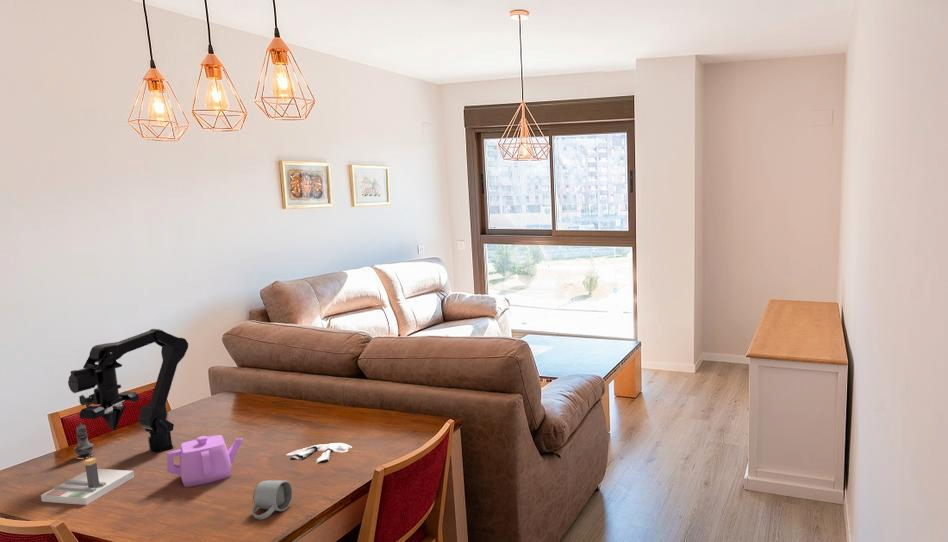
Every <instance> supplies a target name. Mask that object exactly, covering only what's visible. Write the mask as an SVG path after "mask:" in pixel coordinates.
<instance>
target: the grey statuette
mask: <svg viewBox="0 0 948 542" xmlns="http://www.w3.org/2000/svg"><path fill="white" fill-rule="evenodd" d="M75 431H76V436H75V438H77V445H76V446H75V447H74V448H73V451H74V452H75V453H76V454H77V456H76V457H77V458H86V457H89V456H91V455H92V454H94V453H93V452H92V451H93V448H94V443H92V442H89V439H88V438H89V437H88V436H89V434H88V433H87V426H86V424H82V423H81V422H80V423H79V425H77V426H76V428H75Z"/></svg>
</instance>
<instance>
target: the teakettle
mask: <svg viewBox="0 0 948 542" xmlns="http://www.w3.org/2000/svg"><path fill="white" fill-rule="evenodd" d="M242 442H243V438H242V437H239V438H238V437H236V438H235V440H234V441H233V442H232V445H231V446H230V447H229V449H228V448H227V445H226V442H225V439H224V437H223V436H222V435H221V434H217V435H212V436H208V435H202V436H198V437H196V439H193V440H188V441H184V442H182V443H181V444H180V448H179V449H175V450H172V451H167V452H166V471H167V473H170V474H174V475H177V476H180V477H181V478H180V479H181V481H182V484H183V486H184V487H185V488H190V487H191V488H192V487H195V486H196V487H197V486H200V485H204V484H209V483H213V482H217V481H219V480H223V479H227V478H229V477H231V474H232V464H233V462H234V460H235V457H236V455H237V453H238V451H239V449H240V448H241V445H242ZM174 457H179V465H177V464H174V463H175V462H174Z"/></svg>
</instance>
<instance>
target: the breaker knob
mask: <svg viewBox="0 0 948 542" xmlns="http://www.w3.org/2000/svg"><path fill="white" fill-rule="evenodd" d="M97 463H98V462H97V457H90V458H87V459H84V461H83V464H84V466H85V467H84V468H85V472H86V474H87V481H88V487H91V488H96V487H98V486H100V485H99V478H98V471H97V469H98V465H97Z"/></svg>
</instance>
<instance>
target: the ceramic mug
mask: <svg viewBox="0 0 948 542" xmlns="http://www.w3.org/2000/svg"><path fill="white" fill-rule="evenodd" d="M252 494H253V495H252V500H253V507H252V508H251V514H252V516H253V517H254V519H256V520H260V521H261V520H264V519H267V518H268V517H270V516H271V515H272V514H273V513H274V512H284V511H286V510H287V509H288V508H289V506H290V505H291V502H292V499H293V486H292V484H291V483H290V481H288V480H270V479H269V480H262V481H260V482H257V485H256V486H255V488H254V490H253V493H252ZM258 508H259V509H263V510H266V511H265V512H264V513H261V514H259V515H258V514H257V513H256V512H257V510H258Z"/></svg>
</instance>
